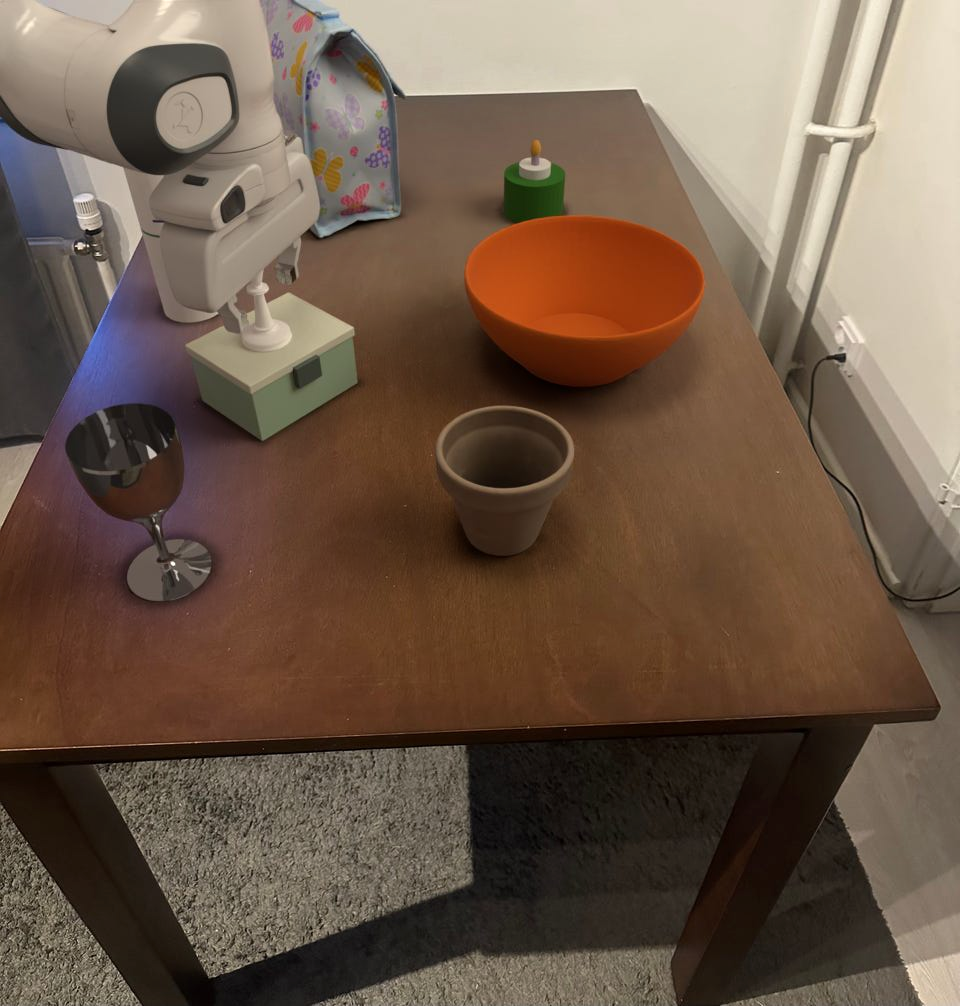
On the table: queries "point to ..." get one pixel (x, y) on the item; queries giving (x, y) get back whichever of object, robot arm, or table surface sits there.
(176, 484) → the wine glass
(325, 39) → the lunch bag
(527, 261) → the bowl
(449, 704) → the table surface
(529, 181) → the candle
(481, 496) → the flower pot
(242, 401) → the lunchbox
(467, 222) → the table surface
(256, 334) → the chess piece
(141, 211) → the cylindrical container
